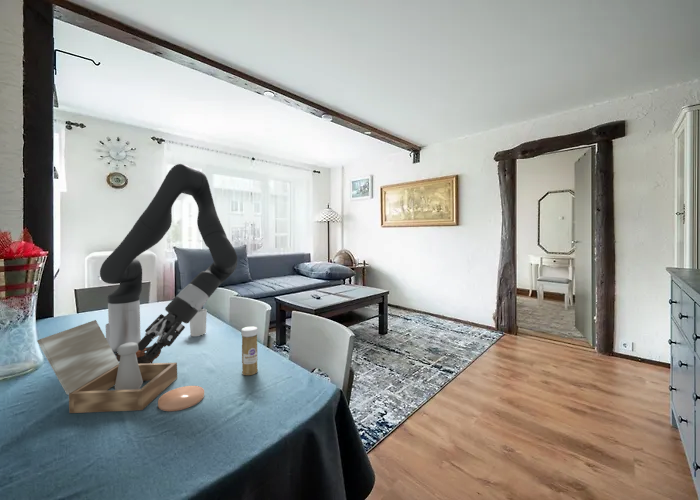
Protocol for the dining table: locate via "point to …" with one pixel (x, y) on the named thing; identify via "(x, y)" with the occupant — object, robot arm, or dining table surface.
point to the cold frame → (99, 372)
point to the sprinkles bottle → (249, 350)
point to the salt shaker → (128, 368)
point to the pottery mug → (141, 356)
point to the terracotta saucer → (181, 398)
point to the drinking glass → (198, 323)
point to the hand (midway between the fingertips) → (142, 353)
